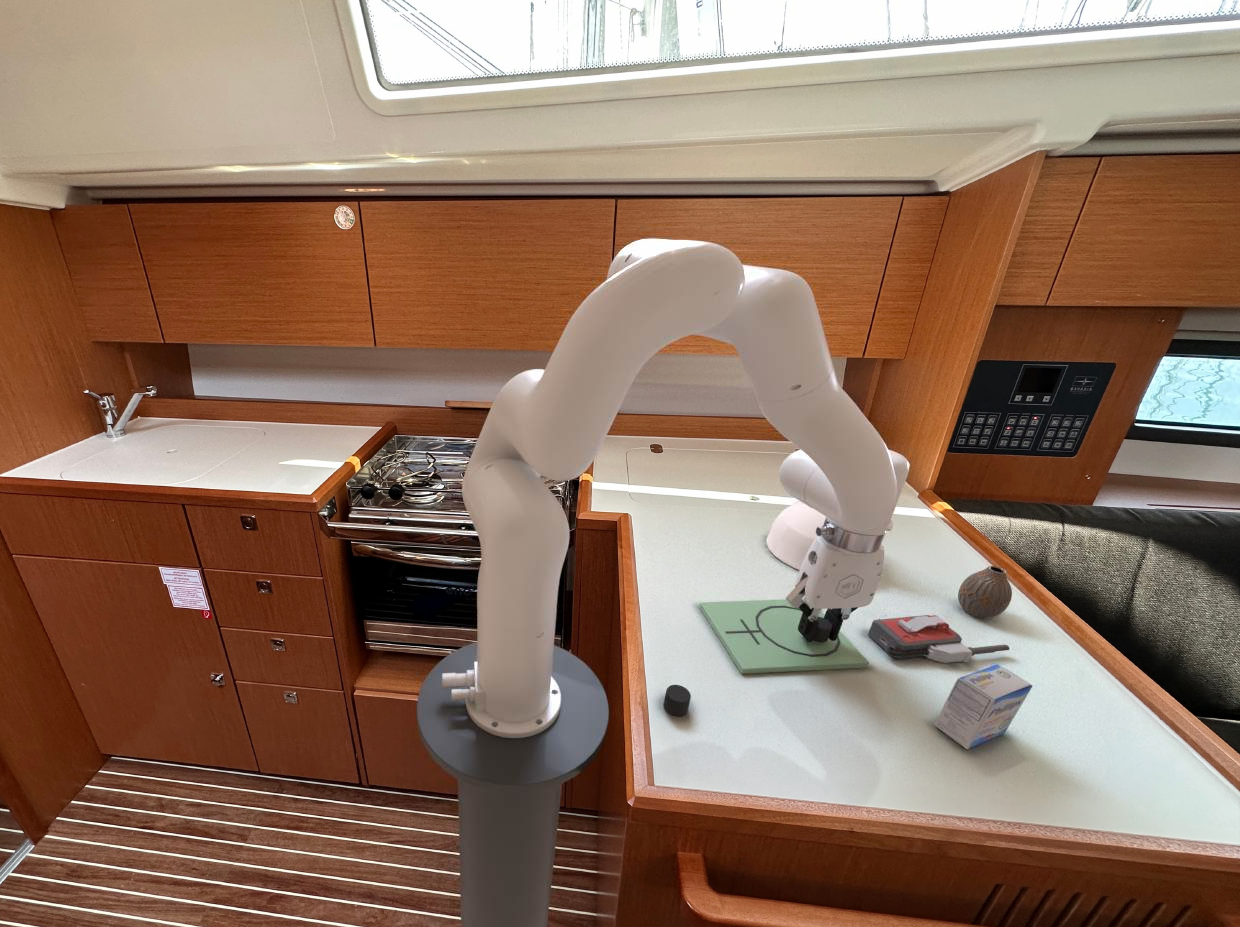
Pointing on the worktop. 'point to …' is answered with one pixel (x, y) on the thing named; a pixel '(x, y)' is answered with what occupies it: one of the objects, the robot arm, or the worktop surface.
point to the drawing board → (775, 638)
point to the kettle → (796, 533)
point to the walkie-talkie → (924, 639)
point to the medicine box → (982, 705)
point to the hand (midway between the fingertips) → (816, 634)
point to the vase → (985, 593)
